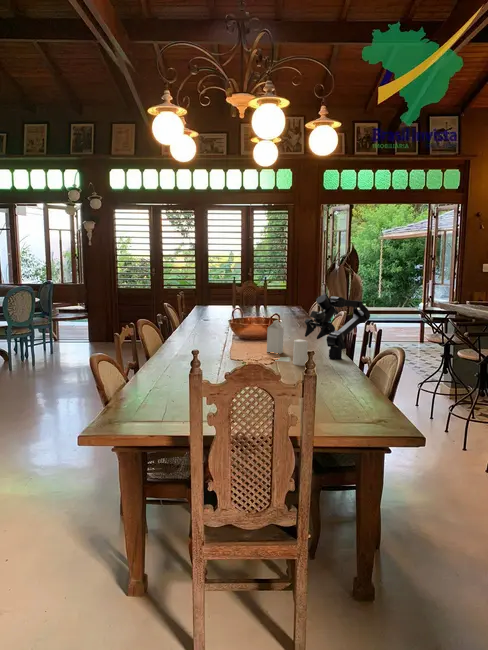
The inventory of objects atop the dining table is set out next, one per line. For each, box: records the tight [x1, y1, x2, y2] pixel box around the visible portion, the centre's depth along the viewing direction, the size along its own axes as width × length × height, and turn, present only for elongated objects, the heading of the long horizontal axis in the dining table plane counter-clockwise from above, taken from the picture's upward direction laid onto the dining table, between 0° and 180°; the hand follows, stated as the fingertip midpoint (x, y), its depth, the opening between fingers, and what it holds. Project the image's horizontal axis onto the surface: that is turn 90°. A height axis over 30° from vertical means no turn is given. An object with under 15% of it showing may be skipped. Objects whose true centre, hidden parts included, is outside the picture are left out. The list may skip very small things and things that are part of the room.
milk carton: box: [266, 319, 285, 355], centre depth 280 cm, size 7×7×19 cm
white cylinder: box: [292, 339, 309, 367], centre depth 255 cm, size 7×7×12 cm
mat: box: [274, 356, 291, 362], centre depth 266 cm, size 10×10×1 cm
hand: (311, 337), depth 259 cm, fingers open, 9 cm apart
